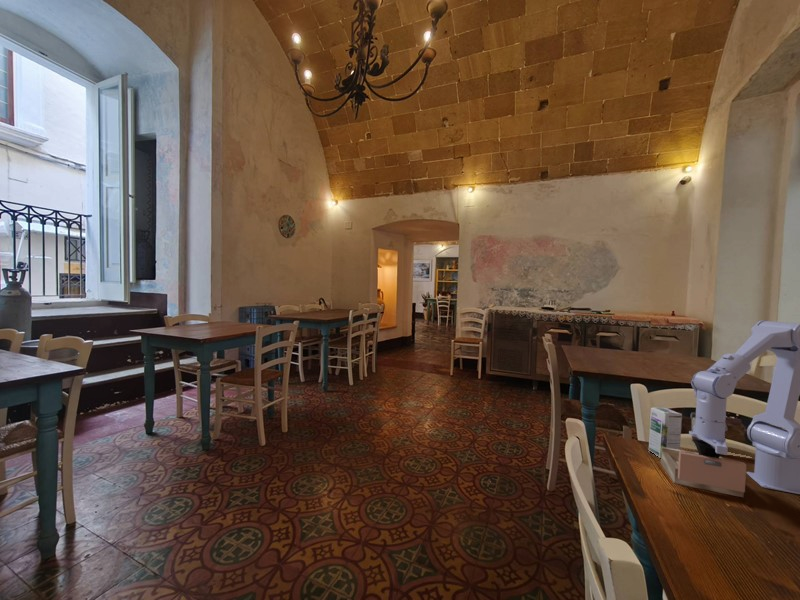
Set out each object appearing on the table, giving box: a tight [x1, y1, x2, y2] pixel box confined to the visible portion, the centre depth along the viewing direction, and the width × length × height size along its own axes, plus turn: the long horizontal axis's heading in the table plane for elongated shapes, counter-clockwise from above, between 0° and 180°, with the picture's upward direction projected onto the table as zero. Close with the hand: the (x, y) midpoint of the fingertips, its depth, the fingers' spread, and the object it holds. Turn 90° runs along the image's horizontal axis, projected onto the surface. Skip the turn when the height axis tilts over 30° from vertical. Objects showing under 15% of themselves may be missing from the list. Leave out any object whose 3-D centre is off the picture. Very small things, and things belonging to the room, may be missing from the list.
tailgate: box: [678, 451, 747, 493], centre depth 86 cm, size 13×2×7 cm, turn 67°
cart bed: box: [660, 447, 745, 498], centre depth 93 cm, size 14×12×5 cm
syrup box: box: [648, 406, 683, 459], centre depth 106 cm, size 6×6×14 cm
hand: (707, 469), depth 88 cm, fingers closed
